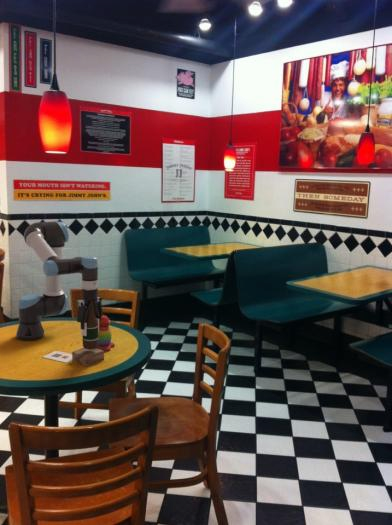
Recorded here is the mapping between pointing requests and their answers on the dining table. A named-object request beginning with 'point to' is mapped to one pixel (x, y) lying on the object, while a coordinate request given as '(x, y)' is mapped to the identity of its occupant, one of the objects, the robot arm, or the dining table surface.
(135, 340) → the dining table surface
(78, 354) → the walnut base brick
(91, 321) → the beer bottle
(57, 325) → the dining table surface
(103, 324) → the stacking bear
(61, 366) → the dining table surface
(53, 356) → the page
